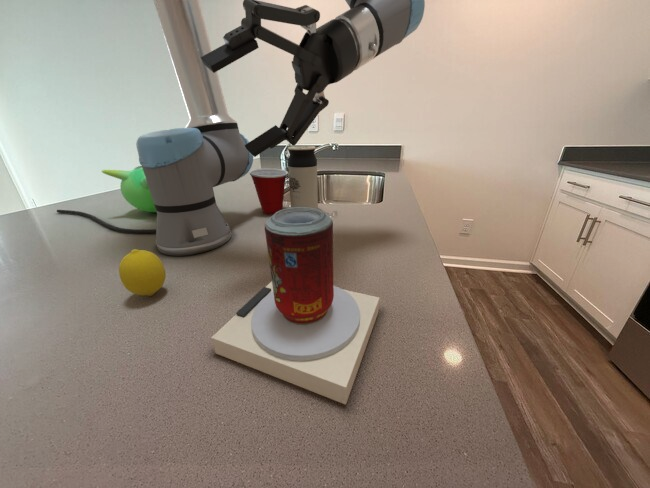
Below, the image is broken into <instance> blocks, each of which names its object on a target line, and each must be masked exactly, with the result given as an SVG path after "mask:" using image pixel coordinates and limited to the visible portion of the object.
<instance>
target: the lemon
mask: <svg viewBox="0 0 650 488" xmlns="http://www.w3.org/2000/svg"><path fill="white" fill-rule="evenodd" d="M118 273H119V275H118V276H119V279H120V281H121V283H122V285H123V286H124V288H125V289H126V290H127V291H128V292H130V293H131V294H134V295H137V296H150V297H151V296H153V295H155V294H156V292H158V291H159V290H160V289H161V288H162V287H163V285H164V284H165V281H166V276H167V275H166V270H165V266H164V264H163V262H162V260H161V259H160V258H159V256H158V255H156V254H155V253H154V252H151V251H148V250H145V249H137V248H134V249H132V250H131V251H130V252H128V253H127V254H126V255H125V256H124V257H123V258H121V261H120V263H119V265H118Z"/></svg>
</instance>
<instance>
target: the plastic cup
mask: <svg viewBox="0 0 650 488" xmlns="http://www.w3.org/2000/svg"><path fill="white" fill-rule="evenodd" d="M248 173H249V175H250V177H251V179H252V182H253V185H254V187H255V191H256V194H257V198H258V201H259V203H260V207H261V210H262V212H263V214H265V215H274V214H275V213H276V212H278V211H280V210H283V209H284V198H285V186H286V180H287V176H288V175H289V171H288V170H285V169H280V168H273V167H272V168H271V167H270V168H268V167H267V168H266V167H265V168H255V169H250V170H249V172H248Z"/></svg>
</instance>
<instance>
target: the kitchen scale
mask: <svg viewBox="0 0 650 488" xmlns="http://www.w3.org/2000/svg"><path fill="white" fill-rule="evenodd" d="M379 310H380V297H379V296H374V295H370V294H365V293H361V292H356V291H351V290H347V289H344V288H341V287H338V286H336V285H334V297H333V302H332V304H331V306H330V308H329V309H328V312H327V314H326V316H325V317H324V318H323V319H322V320H320V321H318V322H316V323H314V324H310V325H296V324H292V323H290V322H288V321H287V320H286V319H285V318H284V317H283V314H282V313H281V312H280V311H279V310H278V309H277V307H276V304H275V300H274V292H273V285H272V280H271V281H270V282H269V283H268V284H267V285H266V286H263V287H262V288H261V289H260V290H259V291H258V292H257V293H256V294H255V295H254V296H253V297H251V298H250V299H249V300H248V301H247V302H246V303H245V304H244V305H243V306H242V307H241V308H239V310H237V312H236V313H235V315H234V316H232V318H230V319H229V320H228V321H227V322H226V323H225V324H224V325H222V327H221V328H220V329H219V330H218V331H216V332H215V333H214V334H213V335H212V336H211V338H210V339H211V342H212V347H213V349H214V352H215V355H218V356H221V357H224V358H226V359H229V360H232V361H234V362H236V363H239V364H242V365H244V366H246V367H248V368H251V369H254V370H257V371H259V372H261V373H264V374H267V375H269V376H272V377H273V378H276V379H279V380H281V381H285V382H286V383H290V384H291V385H294V386H297V387H300V388H302V389H305V390H307V391H310V392H312V393H315V394H317V395H320V396H322V397H325V398H327V399H329V400H332V401H334V402H338V403H340V404H343V405H345V406H346V405H347V403H348V400H349V397H350V394H351V391H352V389H353V387H354V383H355V380H356V377H357V375H358V371H359V369H360V366H361V364H362V360H363V357H364V355H365V352H366V349H367V346H368V343H369V340H370V337H371V334H372V332H373V328H374V326H375V323H376V320H377V318H378V315H379V312H380V311H379Z"/></svg>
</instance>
